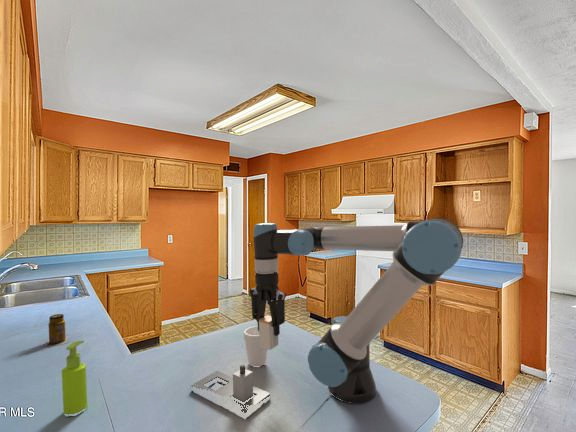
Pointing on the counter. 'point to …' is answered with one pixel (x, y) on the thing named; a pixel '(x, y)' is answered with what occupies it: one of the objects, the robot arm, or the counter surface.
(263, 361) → the foam cup
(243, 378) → the grey tall block
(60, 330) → the condiment
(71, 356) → the soap dispenser
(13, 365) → the counter surface
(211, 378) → the socket strip
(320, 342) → the robot arm
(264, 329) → the plug
